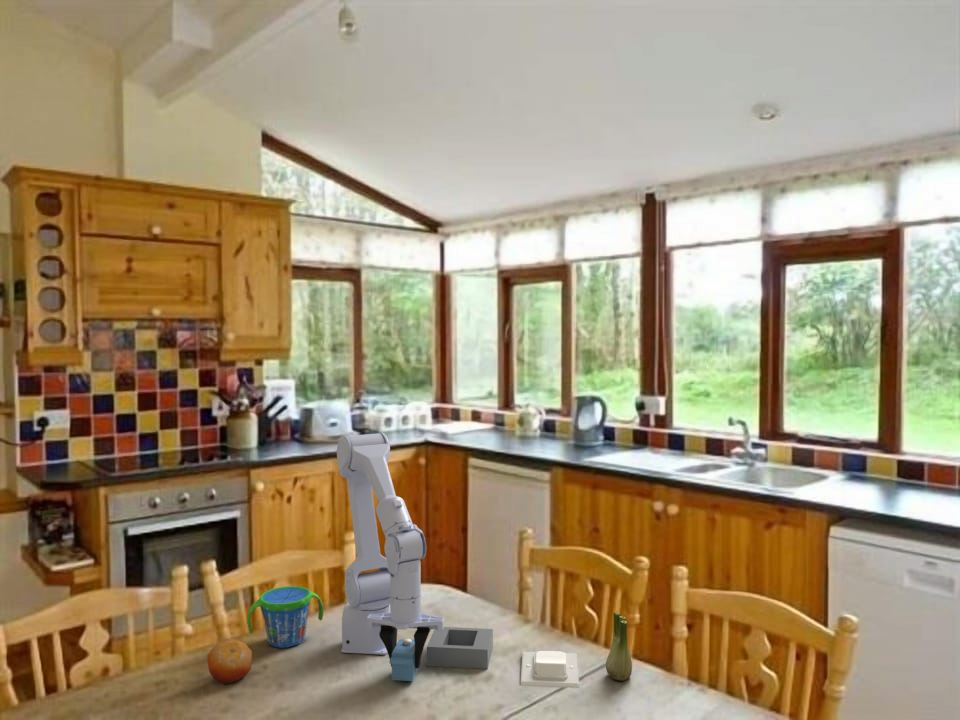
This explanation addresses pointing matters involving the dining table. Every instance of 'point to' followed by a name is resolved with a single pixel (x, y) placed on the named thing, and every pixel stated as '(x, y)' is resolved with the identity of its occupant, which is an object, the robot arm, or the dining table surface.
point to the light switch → (549, 669)
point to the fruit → (229, 661)
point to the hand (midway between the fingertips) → (405, 665)
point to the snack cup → (285, 614)
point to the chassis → (460, 647)
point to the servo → (403, 660)
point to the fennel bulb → (619, 651)
